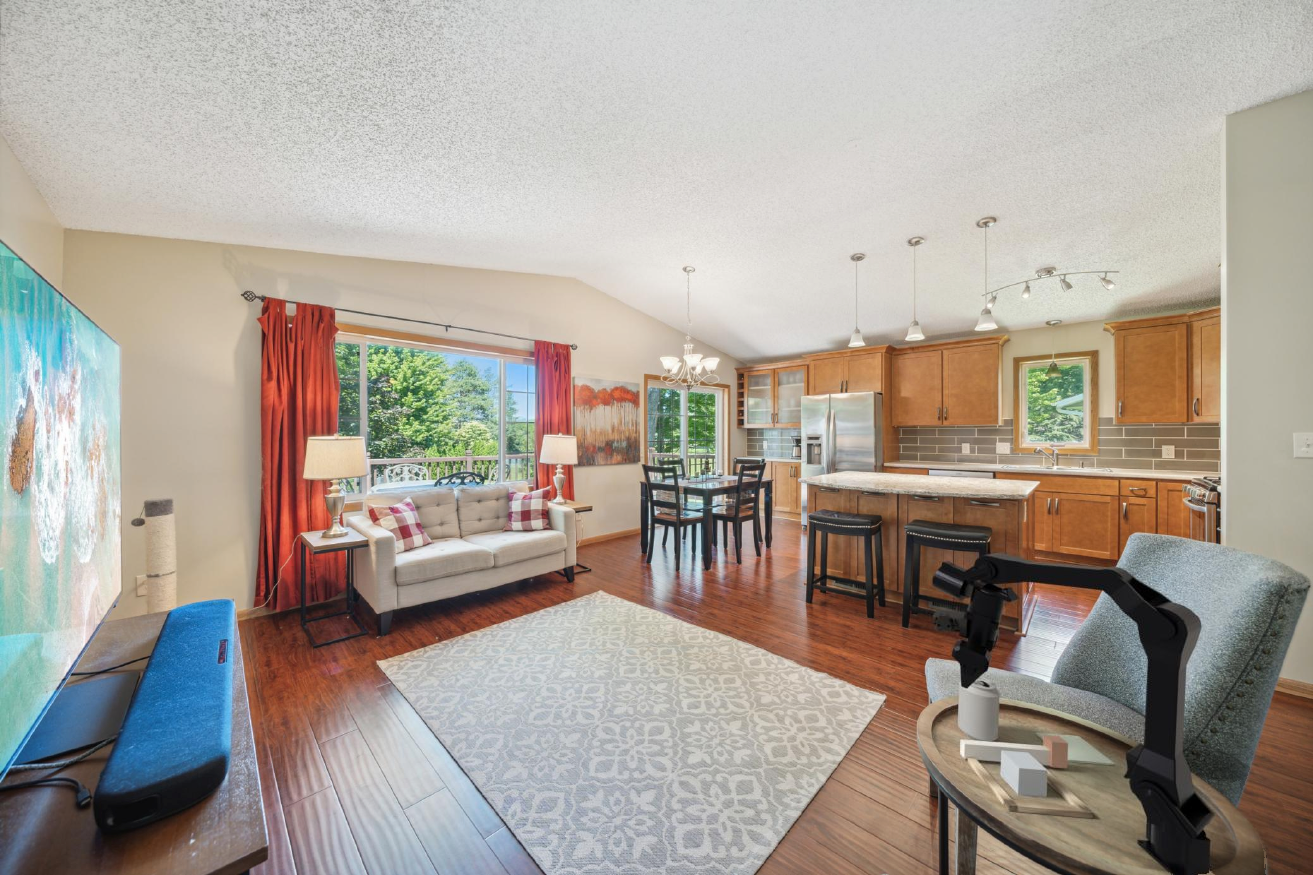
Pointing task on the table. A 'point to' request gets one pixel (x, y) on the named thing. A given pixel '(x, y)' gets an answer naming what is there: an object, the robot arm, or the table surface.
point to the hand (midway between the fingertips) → (967, 677)
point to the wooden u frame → (1071, 810)
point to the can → (979, 710)
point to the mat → (1081, 750)
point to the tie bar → (1019, 750)
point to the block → (1024, 773)
